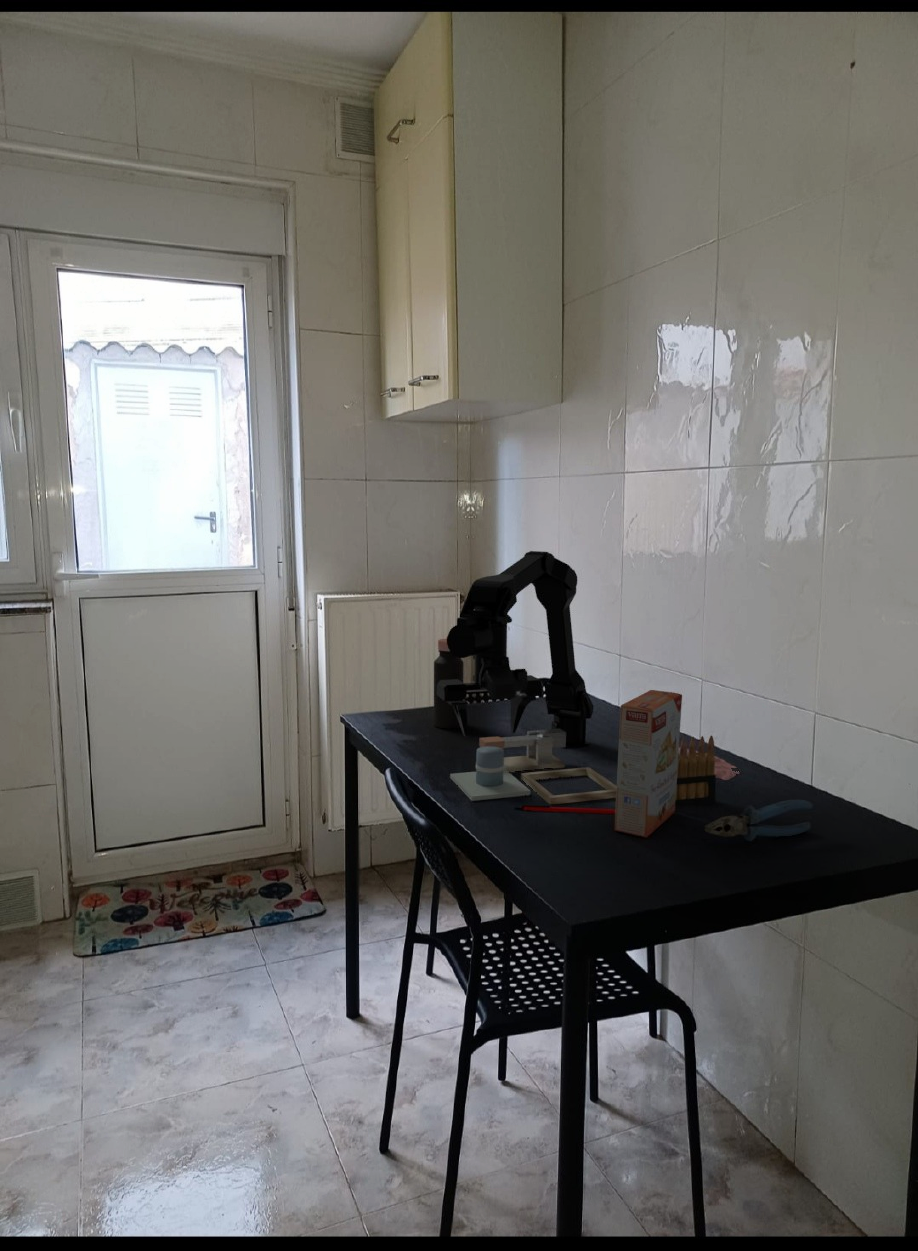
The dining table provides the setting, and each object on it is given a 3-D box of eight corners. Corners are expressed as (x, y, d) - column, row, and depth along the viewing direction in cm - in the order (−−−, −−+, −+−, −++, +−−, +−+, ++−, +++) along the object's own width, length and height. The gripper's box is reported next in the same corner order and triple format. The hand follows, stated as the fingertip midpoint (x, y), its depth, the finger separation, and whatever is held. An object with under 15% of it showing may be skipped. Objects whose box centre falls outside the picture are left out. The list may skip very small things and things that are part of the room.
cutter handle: (559, 742, 178) (559, 728, 177) (566, 747, 174) (566, 732, 174) (479, 749, 173) (479, 734, 172) (485, 754, 169) (485, 739, 169)
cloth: (741, 788, 164) (742, 775, 164) (623, 774, 171) (624, 762, 171) (744, 757, 183) (745, 746, 183) (638, 746, 190) (638, 735, 190)
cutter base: (550, 757, 180) (551, 728, 179) (564, 767, 173) (565, 737, 172) (495, 762, 176) (495, 733, 175) (507, 772, 169) (507, 742, 168)
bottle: (445, 720, 208) (445, 636, 205) (468, 724, 204) (469, 639, 201) (427, 726, 203) (428, 640, 200) (451, 730, 199) (452, 643, 196)
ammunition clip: (660, 808, 151) (663, 740, 149) (655, 804, 153) (658, 737, 151) (715, 803, 154) (719, 736, 152) (709, 799, 156) (713, 733, 154)
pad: (505, 773, 169) (505, 769, 169) (530, 795, 157) (530, 790, 157) (450, 778, 166) (450, 773, 166) (471, 801, 154) (471, 796, 154)
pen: (514, 810, 150) (514, 803, 150) (627, 814, 149) (627, 807, 149) (514, 812, 150) (514, 805, 149) (628, 816, 148) (628, 809, 148)
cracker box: (649, 840, 137) (654, 709, 134) (612, 832, 140) (617, 704, 137) (678, 813, 149) (683, 692, 146) (644, 806, 152) (648, 687, 149)
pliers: (709, 852, 133) (711, 815, 132) (700, 847, 135) (702, 810, 134) (813, 834, 140) (816, 799, 139) (804, 830, 142) (806, 795, 141)
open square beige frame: (588, 773, 170) (588, 767, 169) (622, 797, 156) (623, 790, 156) (520, 779, 165) (520, 773, 165) (550, 804, 152) (550, 798, 152)
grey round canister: (498, 776, 165) (498, 745, 164) (507, 785, 160) (508, 753, 159) (471, 778, 163) (472, 747, 162) (480, 787, 158) (481, 755, 157)
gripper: (454, 660, 147) (453, 750, 150) (556, 655, 153) (554, 742, 155) (436, 649, 158) (435, 733, 160) (532, 644, 163) (530, 726, 166)
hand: (489, 734), depth 160 cm, fingers open, 9 cm apart
